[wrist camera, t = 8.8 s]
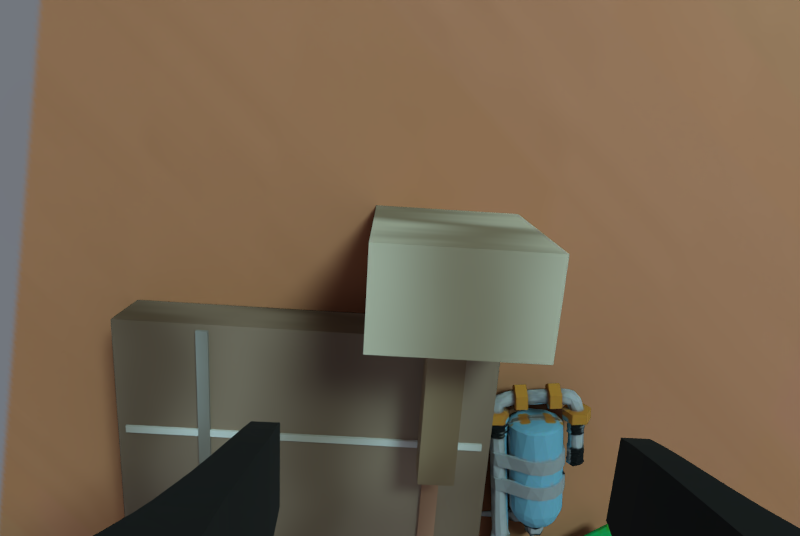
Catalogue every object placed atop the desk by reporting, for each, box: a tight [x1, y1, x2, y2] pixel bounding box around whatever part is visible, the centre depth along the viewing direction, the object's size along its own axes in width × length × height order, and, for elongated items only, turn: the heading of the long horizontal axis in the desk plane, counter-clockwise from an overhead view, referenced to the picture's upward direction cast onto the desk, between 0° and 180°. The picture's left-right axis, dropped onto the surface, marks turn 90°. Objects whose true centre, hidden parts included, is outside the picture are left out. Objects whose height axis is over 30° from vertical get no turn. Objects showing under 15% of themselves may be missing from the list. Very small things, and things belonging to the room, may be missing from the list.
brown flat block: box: [111, 300, 500, 536], centre depth 21 cm, size 13×9×2 cm
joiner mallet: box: [363, 205, 569, 486], centre depth 18 cm, size 5×8×6 cm, turn 176°
